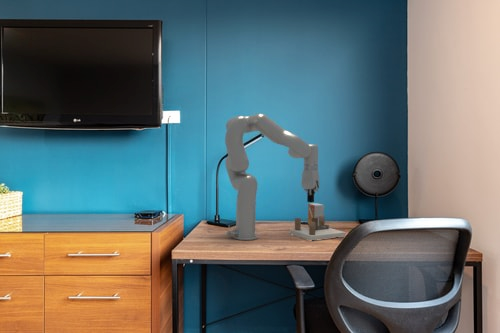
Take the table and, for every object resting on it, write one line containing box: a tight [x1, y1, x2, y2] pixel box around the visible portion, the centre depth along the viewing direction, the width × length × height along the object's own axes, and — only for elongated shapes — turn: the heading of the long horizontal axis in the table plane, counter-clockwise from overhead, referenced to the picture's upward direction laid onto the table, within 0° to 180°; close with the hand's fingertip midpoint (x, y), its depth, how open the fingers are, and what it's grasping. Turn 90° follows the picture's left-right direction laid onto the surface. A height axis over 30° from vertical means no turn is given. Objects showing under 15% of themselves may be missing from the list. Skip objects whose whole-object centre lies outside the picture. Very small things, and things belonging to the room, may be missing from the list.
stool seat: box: [289, 215, 346, 241], centre depth 177 cm, size 22×18×8 cm
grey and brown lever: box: [312, 218, 330, 230], centre depth 181 cm, size 11×3×6 cm, turn 118°
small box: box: [307, 202, 325, 226], centre depth 203 cm, size 8×6×13 cm
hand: (310, 201), depth 183 cm, fingers closed
